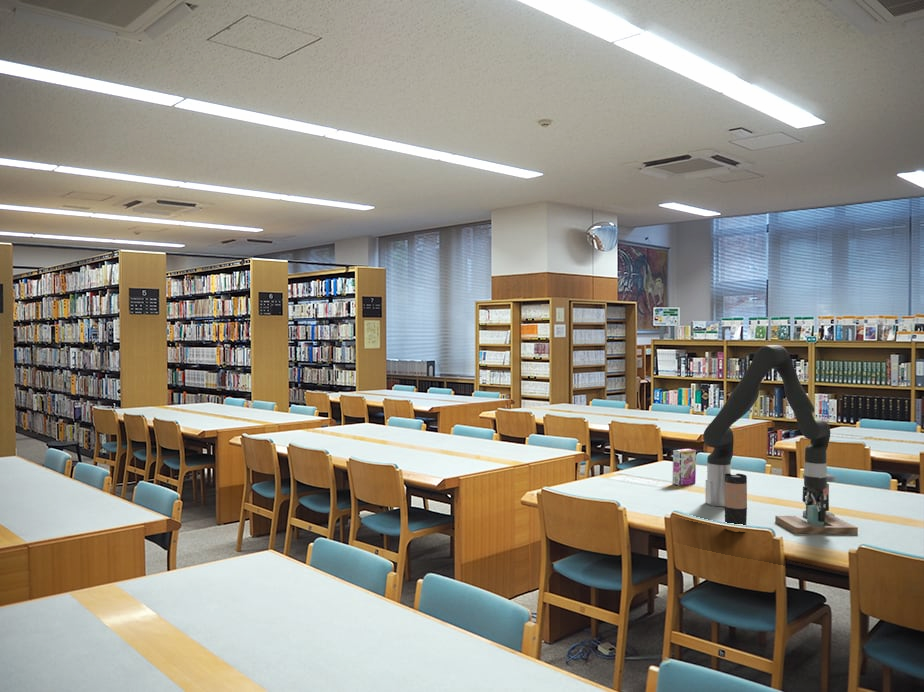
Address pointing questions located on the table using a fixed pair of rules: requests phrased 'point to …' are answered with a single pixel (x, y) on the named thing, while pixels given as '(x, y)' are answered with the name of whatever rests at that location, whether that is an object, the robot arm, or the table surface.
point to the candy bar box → (684, 467)
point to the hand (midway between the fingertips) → (815, 518)
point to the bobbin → (826, 491)
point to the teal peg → (813, 516)
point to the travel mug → (735, 498)
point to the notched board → (830, 526)
